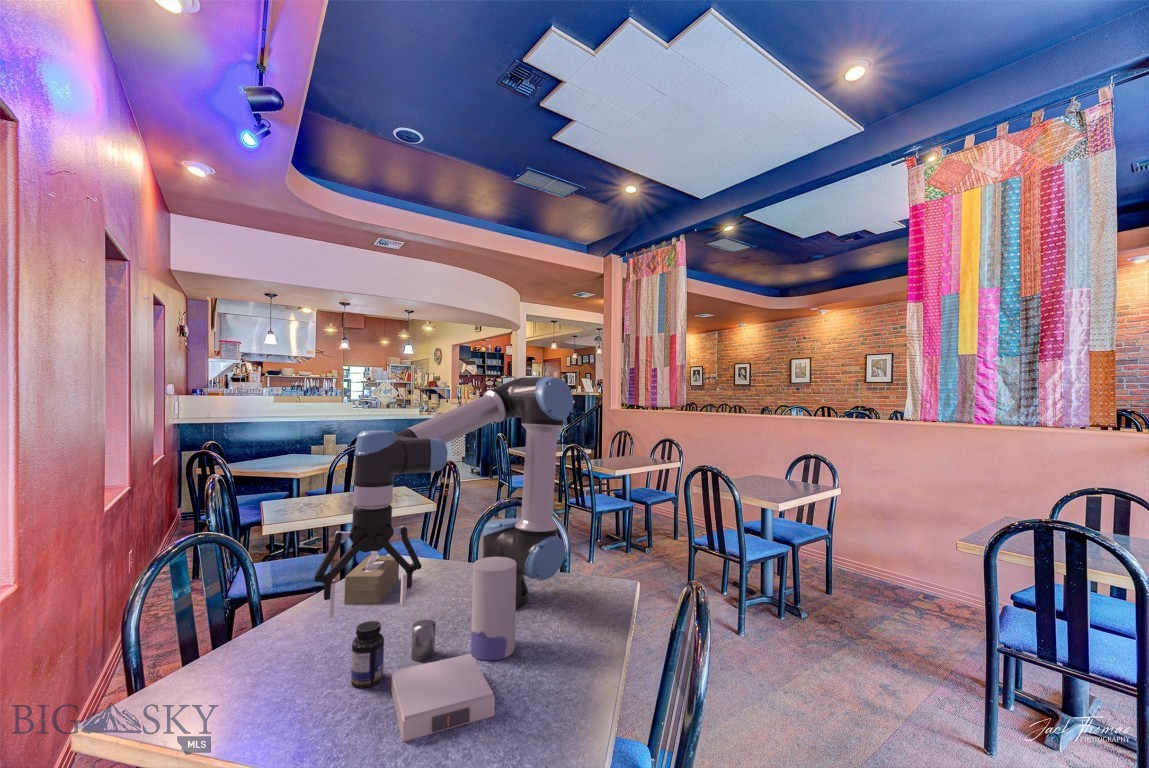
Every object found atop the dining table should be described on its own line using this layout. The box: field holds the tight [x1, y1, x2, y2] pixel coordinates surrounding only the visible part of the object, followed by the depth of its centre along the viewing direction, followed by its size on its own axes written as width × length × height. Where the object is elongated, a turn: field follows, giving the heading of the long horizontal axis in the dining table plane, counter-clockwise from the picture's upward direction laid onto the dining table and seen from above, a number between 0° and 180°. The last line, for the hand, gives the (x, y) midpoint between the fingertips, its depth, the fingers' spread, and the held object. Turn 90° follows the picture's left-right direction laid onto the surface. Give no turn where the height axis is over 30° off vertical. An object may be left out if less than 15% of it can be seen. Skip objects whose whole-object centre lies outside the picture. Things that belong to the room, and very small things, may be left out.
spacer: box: [411, 619, 436, 663], centre depth 110 cm, size 5×5×7 cm
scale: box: [390, 653, 496, 743], centre depth 93 cm, size 16×17×4 cm
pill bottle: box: [350, 620, 385, 689], centre depth 100 cm, size 6×6×11 cm
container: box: [470, 557, 517, 662], centre depth 113 cm, size 10×10×20 cm
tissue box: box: [343, 550, 400, 606], centre depth 146 cm, size 19×10×16 cm, turn 4°
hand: (368, 609), depth 100 cm, fingers open, 13 cm apart
